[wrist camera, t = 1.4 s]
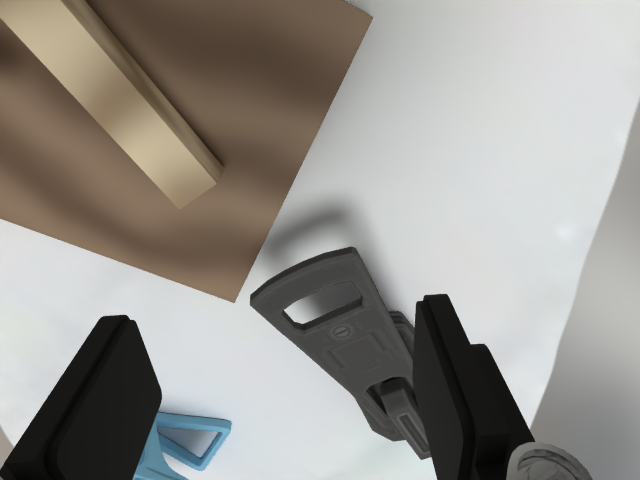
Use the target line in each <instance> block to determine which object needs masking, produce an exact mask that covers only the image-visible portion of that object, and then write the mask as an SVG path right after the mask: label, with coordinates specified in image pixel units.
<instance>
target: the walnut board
mask: <svg viewBox="0 0 640 480" xmlns="http://www.w3.org/2000/svg"><path fill="white" fill-rule="evenodd" d="M85 1H86V2H87V3H88V5H89V6H90V7H91V8H92V10H93V11H94V12H95V13H96V14H97V16H98V17H99V18H100V19H101V20H102V22H103V23H104V24H105V25H106V26H107V28H108V29H109V30H110V31H111V32H112V34H113V35H114V36H115V37H116V38H117V40H118V41H119V42H120V43H121V44H122V46H123V47H124V48H125V49H126V51H127V52H128V53H129V54H130V55H131V57H132V58H133V59H134V60H135V61H136V63H137V64H138V65H139V66H140V67H141V69H142V70H143V71H144V72H145V73H146V75H147V76H148V77H149V78H150V79H151V81H152V82H153V83H154V84H155V86H156V87H157V88H158V89H159V90H160V92H161V93H162V94H163V95H164V96H165V98H166V99H167V100H168V101H169V102H170V104H171V105H172V106H173V107H174V108H175V110H176V111H177V112H178V113H179V114H180V116H181V117H182V118H183V119H184V121H185V122H186V123H187V124H188V125H189V127H190V128H191V129H192V130H193V131H194V133H195V134H196V135H197V136H198V137H199V139H200V140H201V141H202V142H203V143H204V145H205V146H206V147H207V148H208V149H209V151H210V152H211V153H212V154H213V155H214V157H215V158H216V159H217V160H218V162H219V163H220V164H221V165H222V166H223V168H224V171H223V173H222V175H221V177H220V179H219V181H218V183H217V184H216V185H214V186H213V187H211V188H210V189H208V190H207V191H206V192H204V193H203V194H201V195H200V196H198V197H197V198H195V199H194V200H193V201H191V202H190V203H188V204H187V205H185V206H184V207H182V208H181V209H178V208H177V207H176V206H175V205H174V203H173V202H172V201H171V200H170V199H169V198H168V197H167V196H166V195H165V194H164V193H163V192H162V191H161V190H160V188H159V187H158V186H157V185H156V184H155V183H154V182H153V181H152V180H151V179H150V178H149V177H148V176H147V175H146V173H145V172H144V171H143V170H142V169H141V168H140V167H139V166H138V165H137V164H136V163H135V162H134V161H133V160H132V158H131V157H130V156H129V155H128V154H127V153H126V152H125V151H124V150H123V149H122V148H121V147H120V146H119V145H118V143H117V142H116V141H115V140H114V139H113V138H112V137H111V136H110V135H109V134H108V133H107V132H106V131H105V129H104V128H103V127H102V126H101V125H100V124H99V123H98V122H97V121H96V120H95V119H94V118H93V117H92V116H91V114H90V113H89V112H88V111H87V110H86V109H85V108H84V107H83V106H82V105H81V104H80V103H79V102H78V101H77V99H76V98H75V97H74V96H73V95H72V94H71V93H70V92H69V91H68V90H67V89H66V88H65V87H64V86H63V84H62V83H61V82H60V81H59V80H58V79H57V78H56V77H55V76H54V75H53V74H52V73H51V72H50V71H49V69H48V68H47V67H46V66H45V65H44V64H43V63H42V62H41V61H40V60H39V59H38V58H37V57H36V56H35V54H34V53H33V52H32V51H31V50H30V49H29V48H28V47H27V46H26V45H25V44H24V43H23V42H22V41H21V39H20V38H19V37H18V36H17V35H16V34H15V33H14V32H13V31H12V30H11V29H10V28H9V27H8V26H7V24H6V23H5V22H4V21H3V20H2V19H1V18H0V219H3V220H6V221H9V222H11V223H14V224H17V225H20V226H22V227H25V228H28V229H31V230H33V231H36V232H39V233H42V234H45V235H47V236H50V237H53V238H56V239H58V240H61V241H64V242H67V243H69V244H72V245H75V246H78V247H81V248H83V249H86V250H89V251H92V252H94V253H97V254H100V255H103V256H105V257H108V258H111V259H114V260H117V261H119V262H122V263H125V264H128V265H130V266H133V267H136V268H139V269H141V270H144V271H147V272H150V273H153V274H155V275H158V276H161V277H164V278H166V279H169V280H172V281H175V282H178V283H180V284H183V285H186V286H189V287H191V288H194V289H197V290H200V291H202V292H205V293H208V294H211V295H214V296H216V297H219V298H222V299H225V300H227V301H230V302H233V303H235V301H236V299H237V297H238V294H239V292H240V290H241V288H242V286H243V284H244V282H245V280H246V278H247V276H248V274H249V272H250V270H251V268H252V266H253V264H254V262H255V260H256V257H257V255H258V253H259V251H260V249H261V247H262V245H263V243H264V241H265V239H266V237H267V235H268V233H269V231H270V229H271V227H272V225H273V223H274V221H275V218H276V216H277V214H278V212H279V210H280V208H281V206H282V204H283V202H284V200H285V198H286V196H287V194H288V192H289V190H290V188H291V186H292V184H293V181H294V179H295V177H296V175H297V173H298V171H299V169H300V167H301V165H302V163H303V161H304V159H305V157H306V155H307V153H308V151H309V149H310V147H311V145H312V142H313V140H314V138H315V136H316V134H317V132H318V130H319V128H320V126H321V124H322V122H323V120H324V118H325V116H326V114H327V112H328V110H329V108H330V105H331V103H332V101H333V99H334V97H335V95H336V93H337V91H338V89H339V87H340V85H341V83H342V81H343V79H344V77H345V75H346V73H347V71H348V69H349V66H350V64H351V62H352V60H353V58H354V56H355V54H356V52H357V50H358V48H359V46H360V44H361V42H362V40H363V38H364V36H365V34H366V32H367V30H368V27H369V25H370V23H371V21H372V19H373V17H372V16H370V15H368V14H367V13H365V12H363V11H361V10H360V9H358V8H356V7H354V6H353V5H351V4H349V3H347V2H345V1H344V0H85Z"/></svg>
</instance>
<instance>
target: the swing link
mask: <svg viewBox="0 0 640 480" xmlns="http://www.w3.org/2000/svg"><path fill="white" fill-rule="evenodd" d="M0 18H1V19H2V20H3V21H4V22H5V23H6V24H7V26H8V27H9V28H10V29H11V30H12V31H13V32H14V33H15V34H16V35H17V36H18V37H19V38H20V39H21V41H22V42H23V43H24V44H25V45H26V46H27V47H28V48H29V49H30V50H31V51H32V52H33V53H34V54H35V56H36V57H37V58H38V59H39V60H40V61H41V62H42V63H43V64H44V65H45V66H46V67H47V68H48V69H49V71H50V72H51V73H52V74H53V75H54V76H55V77H56V78H57V79H58V80H59V81H60V82H61V83H62V84H63V86H64V87H65V88H66V89H67V90H68V91H69V92H70V93H71V94H72V95H73V96H74V97H75V98H76V99H77V101H78V102H79V103H80V104H81V105H82V106H83V107H84V108H85V109H86V110H87V111H88V112H89V113H90V114H91V116H92V117H93V118H94V119H95V120H96V121H97V122H98V123H99V124H100V125H101V126H102V127H103V128H104V129H105V131H106V132H107V133H108V134H109V135H110V136H111V137H112V138H113V139H114V140H115V141H116V142H117V143H118V145H119V146H120V147H121V148H122V149H123V150H124V151H125V152H126V153H127V154H128V155H129V156H130V157H131V158H132V160H133V161H134V162H135V163H136V164H137V165H138V166H139V167H140V168H141V169H142V170H143V171H144V172H145V173H146V175H147V176H148V177H149V178H150V179H151V180H152V181H153V182H154V183H155V184H156V185H157V186H158V187H159V188H160V190H161V191H162V192H163V193H164V194H165V195H166V196H167V197H168V198H169V199H170V200H171V201H172V202H173V203H174V205H175V206H176V207H177V208H178V209H181V208H182V207H184V206H185V205H187V204H188V203H190V202H191V201H193V200H194V199H195V198H197V197H198V196H200V195H201V194H203V193H204V192H206V191H207V190H208V189H210V188H211V187H213V186H214V185H216V184H217V183H218V181H219V179H220V177H221V175H222V173H223V171H224V168H223V166H222V165H221V164H220V163H219V162H218V160H217V159H216V158H215V157H214V155H213V154H212V153H211V152H210V151H209V149H208V148H207V147H206V146H205V145H204V143H203V142H202V141H201V140H200V139H199V137H198V136H197V135H196V134H195V133H194V131H193V130H192V129H191V128H190V127H189V125H188V124H187V123H186V122H185V121H184V119H183V118H182V117H181V116H180V114H179V113H178V112H177V111H176V110H175V108H174V107H173V106H172V105H171V104H170V102H169V101H168V100H167V99H166V98H165V96H164V95H163V94H162V93H161V92H160V90H159V89H158V88H157V87H156V86H155V84H154V83H153V82H152V81H151V79H150V78H149V77H148V76H147V75H146V73H145V72H144V71H143V70H142V69H141V67H140V66H139V65H138V64H137V63H136V61H135V60H134V59H133V58H132V57H131V55H130V54H129V53H128V52H127V51H126V49H125V48H124V47H123V46H122V44H121V43H120V42H119V41H118V40H117V38H116V37H115V36H114V35H113V34H112V32H111V31H110V30H109V29H108V28H107V26H106V25H105V24H104V23H103V22H102V20H101V19H100V18H99V17H98V16H97V14H96V13H95V12H94V11H93V10H92V8H91V7H90V6H89V5H88V3H87V2H86V1H85V0H0Z"/></svg>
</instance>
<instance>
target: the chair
mask: <svg viewBox="0 0 640 480" xmlns="http://www.w3.org/2000/svg"><path fill="white" fill-rule="evenodd" d="M157 427H167V428H179V429H192V430H204V431H216V432H220V433H219V434H218V436H217V437H216V439H215V440H214V442H213V443H212V445H211V446H210V448H209V449H208V451H207V452H206V454H205V455H204V457H203V458H202V459H200V458H198V457H196V456H195V455H193V454H191V453H190V452H188V451H186V450H185V449H183V448H182V447H180V446H179V445H177V444H175V443H174V442H172V441H170V440H169V439H167V438H166V437H164V436H162V435H161V434H159V433H158V432H157ZM230 430H231V422H230V421H226V420H221V419H213V418H204V417H194V416H185V415H176V414H167V413H161V412H158V413H157V415H156V418H155V421H154V423H153V426H152V429H151V431H150V434H149V437H148V439H147V442H146V445H145V447H144V450H143V453H142V455H141V458H140V461H139V463H138V466H137V469H136V471H135V474H134V477H133V480H188V479H187V478H185V477H184V476H182V475H180V474H178V473H176V472H175V471H173V470H172V469H171V468H170V467H169V466H168V464H167V463H166V461H165V459H164V456H163V454H162V451H163V452H165V453H167V454H168V455H170V456H172V457H174V458H175V459H177V460H179V461H181V462H182V463H184V464H186V465H188V466H190V467H192V468H194V469H196V470H199V471H203V470H204V469H205V468H206V467H207V465H208V464H209V462H210V461H211V459H212V458H213V456H214V455H215V453H216V452H217V450H218V449H219V447H220V446H221V445H222V443H223V442H224V440H225V439H226V437H227V436H228V434H229V433H230Z"/></svg>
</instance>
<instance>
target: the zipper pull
mask: <svg viewBox="0 0 640 480" xmlns="http://www.w3.org/2000/svg"><path fill="white" fill-rule="evenodd" d="M346 281H351V282H353V283H354V284H355V286H356V287H357V289H358V290H359V292H360V293H361V299H359V300H356V301H354V302H352V303H350V304H348V305H346V306H344V307H341V308H339V309H337V310H335V311H332V312H330V313H328V314H326V315H323V316H321V317H319V318H316V319H314V320H312V321H309V322H307V323H304V324H300V323H297V322H294V321H293V320H292V319H291V318H290V317H289V316H288V315H287V313H286V312H285V311H284V309H286V308H287V307H288V306H290V305H291V304H292V303H294V302H296V301H298V300H300V299H302V298H304V297H306V296H309V295H311V294H313V293H315V292H317V291H319V290H322V289H324V288H326V287H328V286H330V285H334V284H338V283H342V282H346ZM250 306H252V307H253V308H254V309H255V310H256V311H257V312H258V313H259V314H261V315H262V316H263V317H264V318H265V319H266V320H267V321H268V322H270V323H271V324H272V325H273V326H274V327H275V328H276V329H277V330H279V331H280V332H281V333H282V334H283V335H284V336H286V337H287V338H288V339H289V340H291V341H292V342H293V343H294V344H295V345H296V346H297V347H299V348H300V349H301V350H302V351H303V352H304V353H305V354H307V355H308V356H309V357H310V358H311V359H312V360H313V361H314V362H316V363H317V364H318V365H319V366H320V367H321V368H322V369H324V370H325V371H326V372H327V373H328V374H329V375H330V376H331V377H333V378H334V379H335V380H336V381H337V382H338V383H339V384H341V385H342V386H343V387H344V388H345V389H346V390H347V391H349V392H350V393H351V394H352V395H353V396H354V398H355V399H356V401H357V403H358V405H359V406H360V408H361V410H362V412H363V414H364V416H365V417H366V419H367V421H368V423H369V425H370V427H371V429H372V430H373V431H374V432H376V433H378V434H380V435H382V436H384V437H386V438H387V439H389V440H391V441H401V440H406V441H407V442H408V443H409V445H410V446H411V447H412V449H413V450H414V451H415V453H416V454H417V455H418V457H419V458H420V459H421V460H423V459H426V458H429V457H431V453H430V449H429V445H428V441H427V437H426V434H425V430H424V426H423V422H422V418H421V414H420V411H419V407H418V403H417V399H416V395H415V391H414V387H413V380H412V370H413V351H414V333H415V329H414V327H413V326H412V325H411V324H410V322H409V321H408V320H407V318H406V317H405V316H404V315H403V314H402V313H401V312H388V310H387V309H386V307H385V305H384V303H383V301H382V299H381V297H380V295H379V293H378V290H377V288H376V286H375V284H374V282H373V280H372V278H371V276H370V274H369V272H368V271H367V269H366V267H365V265H364V263H363V261H362V259H361V257H360V255H359V253H358V251H357V249H356V248H354V247H348V248H344V249H339V250H335V251H331V252H326V253H323V254H320V255H318V256H315V257H313V258H310V259H307V260H305V261H303V262H301V263H299V264H296V265H294V266H292V267H290V268H288V269H286V270H284V271H283V272H281V273H279V274H278V275H276V276H274V277H273V278H271V279H269V280H267V281H266V282H265V283H264V284H263V285H262V286H260V287H259V288H258V289H257V290H256V291H255V292H253V293H252V294H251V295H250Z"/></svg>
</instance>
